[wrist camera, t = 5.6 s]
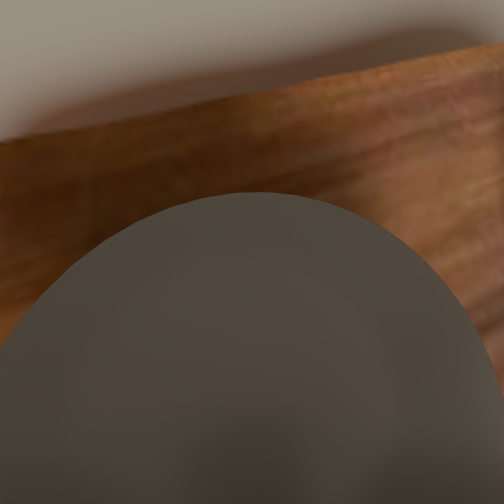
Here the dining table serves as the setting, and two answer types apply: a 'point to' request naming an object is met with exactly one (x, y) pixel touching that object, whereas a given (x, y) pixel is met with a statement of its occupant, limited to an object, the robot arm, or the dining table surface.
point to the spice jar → (249, 368)
